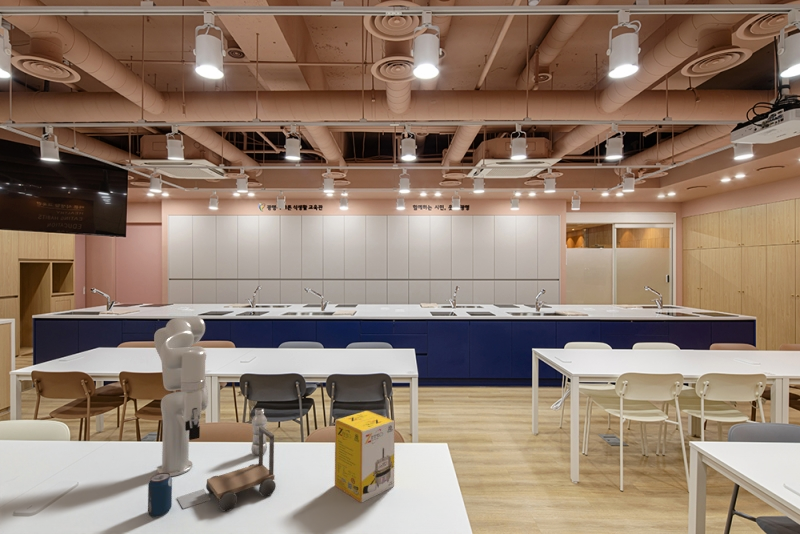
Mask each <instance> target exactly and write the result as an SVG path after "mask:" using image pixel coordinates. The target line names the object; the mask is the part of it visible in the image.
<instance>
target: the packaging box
mask: <svg viewBox="0 0 800 534" xmlns="http://www.w3.org/2000/svg"><path fill="white" fill-rule="evenodd" d="M334 421H335V424H334V426H335V427H334V435H335V437H334V486H335V488H336V487H337V488H338V489H340V490H341V491H343V492H344V493H346V494H347V495H349V496H351V498H354V499H355V500H356V501H358V502H360V503H363V502H365V501H367V500H369V499H372V498H374V497H375V496H378V495H379V494H381V493H384V492H386V491H387V490H390V489H391V488H394V486H395V439H396V438H395V433H396V432H395V431H396V430H395V426H396V425H395V424H396V423H395V420H393V419H391V418H389V417H386V416H384V415H380V414H378V413H375V412H372V411H370V410H364V411H361V412H358V413H354V414H352V415H351V414H350V415H348V416H344V417H342V418H341V417H340V418H337V419H335V420H334Z"/></svg>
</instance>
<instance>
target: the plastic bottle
mask: <svg viewBox="0 0 800 534" xmlns="http://www.w3.org/2000/svg"><path fill="white" fill-rule="evenodd" d="M254 410H255V411H254V414H255V415H254V416H253V418H252V420H251V428H252V442H251V443H252V444H251V450H250V451H251V453H252V455H253V456H259V427H264V428H265V429H266V430H267V424H268V419H267V417H266V415H265V414H264V413H265V408H262V407H257V408H255V409H254ZM266 437H267V436H266V435H265V434H263V455H264V454H266V452H267V450H268V449H267V448H268V446H267V439H266Z"/></svg>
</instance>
